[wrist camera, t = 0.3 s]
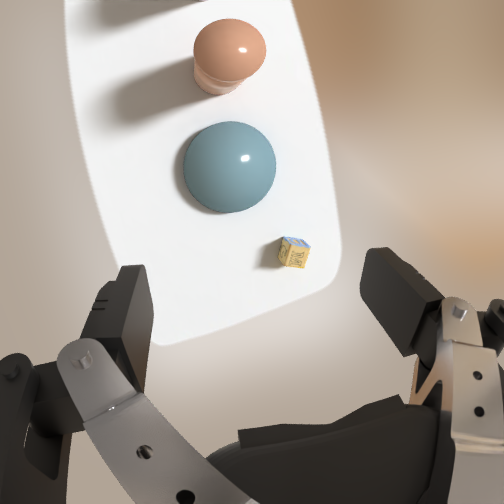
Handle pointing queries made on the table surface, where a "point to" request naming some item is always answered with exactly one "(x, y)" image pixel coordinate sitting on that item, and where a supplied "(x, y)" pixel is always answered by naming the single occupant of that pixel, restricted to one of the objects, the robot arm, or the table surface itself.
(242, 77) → the dome-topped peach cylinder
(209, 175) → the blue-grey round disc
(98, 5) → the table surface
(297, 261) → the alphabet block
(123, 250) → the table surface
